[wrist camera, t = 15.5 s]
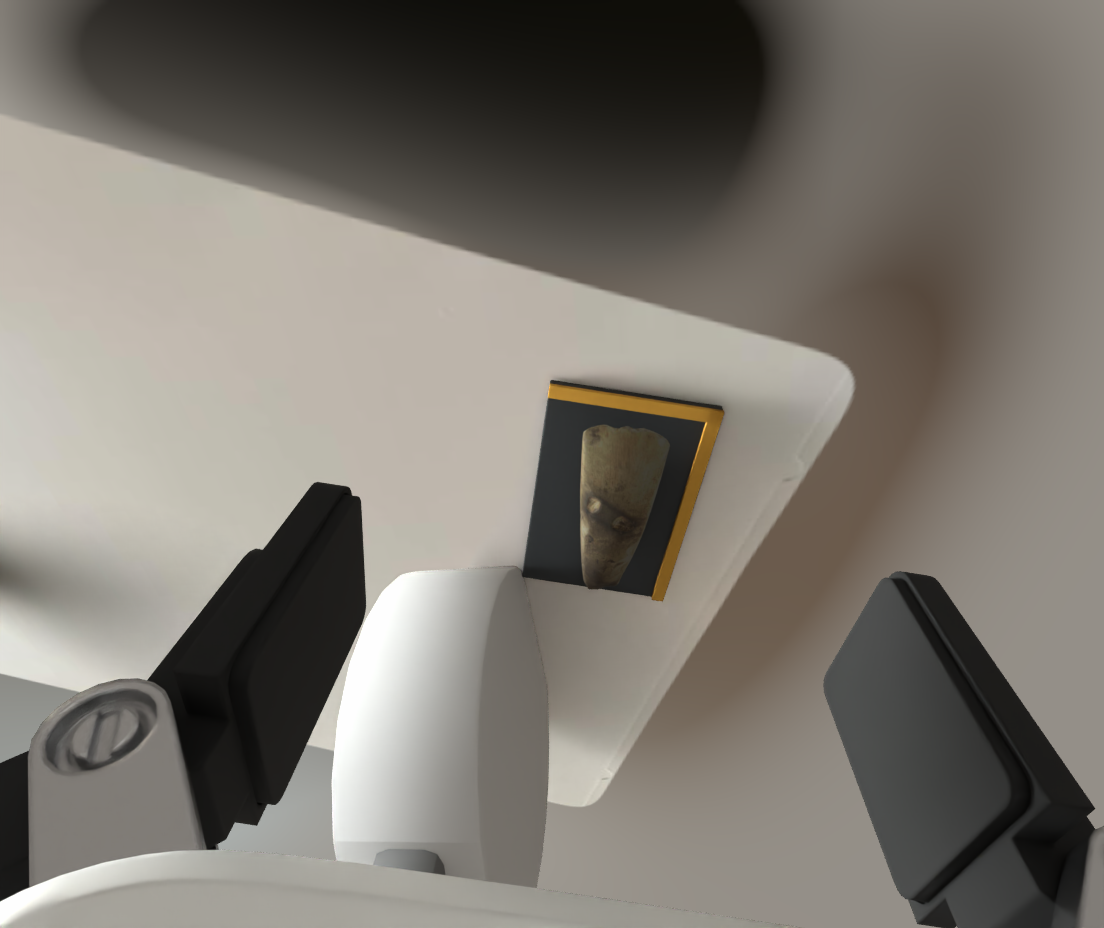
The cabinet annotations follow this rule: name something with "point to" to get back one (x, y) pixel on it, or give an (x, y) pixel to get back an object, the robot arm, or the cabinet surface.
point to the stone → (616, 497)
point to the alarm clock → (445, 731)
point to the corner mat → (560, 477)
